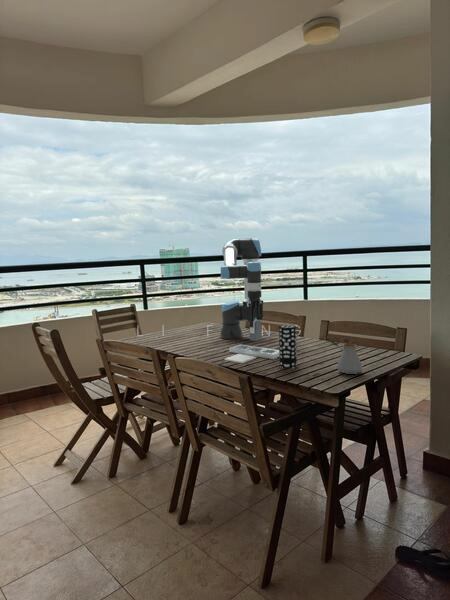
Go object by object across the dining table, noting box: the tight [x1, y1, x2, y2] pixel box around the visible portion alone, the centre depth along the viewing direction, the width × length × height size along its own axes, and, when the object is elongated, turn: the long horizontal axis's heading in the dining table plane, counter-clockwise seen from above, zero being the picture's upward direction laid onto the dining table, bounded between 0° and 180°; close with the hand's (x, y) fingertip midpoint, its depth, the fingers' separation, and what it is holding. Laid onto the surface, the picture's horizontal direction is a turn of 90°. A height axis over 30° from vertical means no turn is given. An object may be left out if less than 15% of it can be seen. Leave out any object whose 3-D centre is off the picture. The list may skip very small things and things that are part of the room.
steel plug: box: [248, 321, 262, 342], centre depth 231 cm, size 5×5×10 cm
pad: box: [224, 353, 257, 364], centre depth 222 cm, size 12×12×1 cm
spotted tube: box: [278, 324, 298, 369], centre depth 204 cm, size 8×8×20 cm
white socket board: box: [228, 343, 279, 360], centre depth 232 cm, size 30×10×2 cm, turn 50°
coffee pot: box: [323, 335, 364, 374], centre depth 195 cm, size 21×12×15 cm, turn 33°
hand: (255, 332), depth 231 cm, fingers closed on steel plug, 5 cm apart
